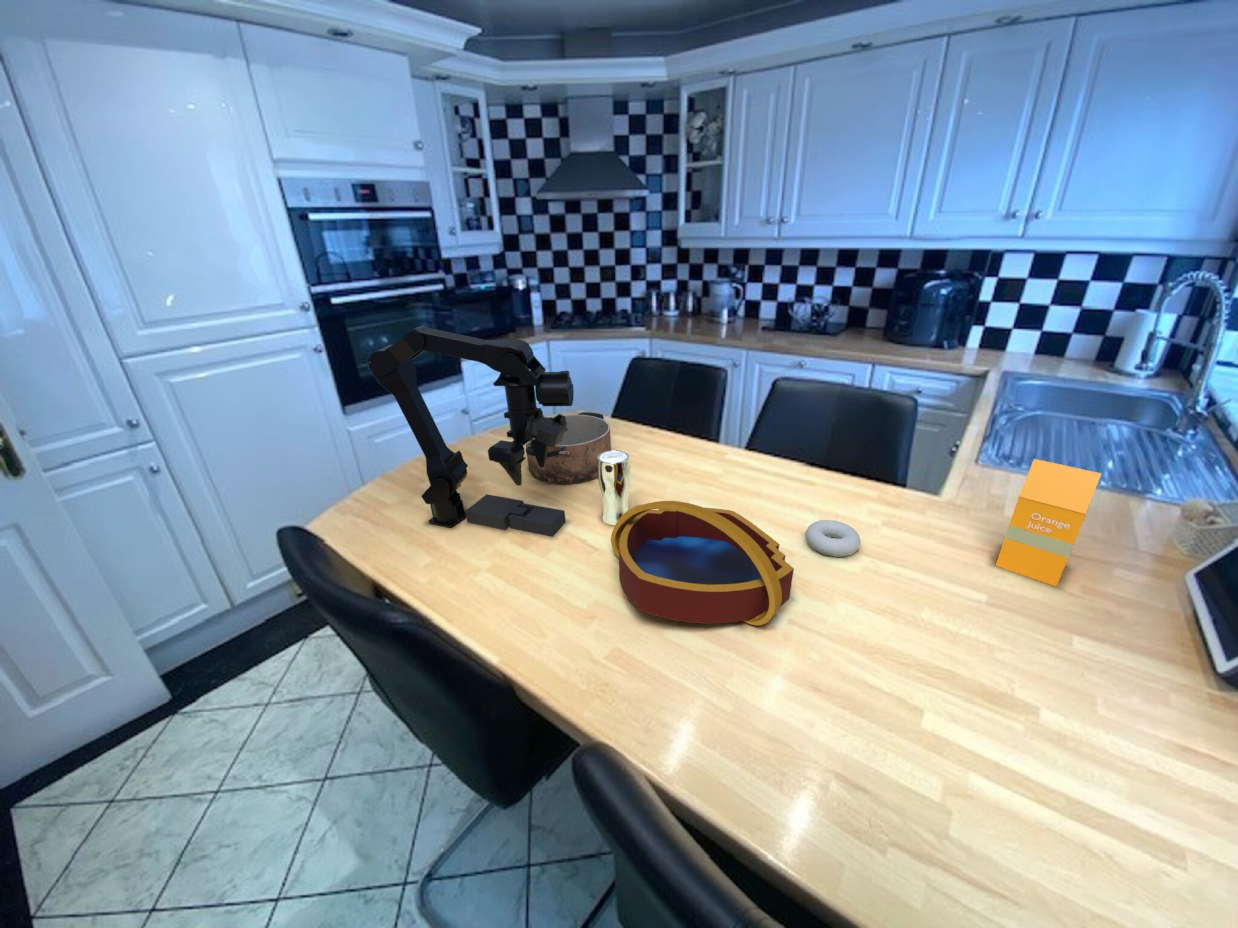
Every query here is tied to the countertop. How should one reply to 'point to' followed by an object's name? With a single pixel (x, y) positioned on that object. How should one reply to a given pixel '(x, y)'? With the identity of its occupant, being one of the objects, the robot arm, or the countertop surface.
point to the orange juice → (1047, 520)
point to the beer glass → (614, 484)
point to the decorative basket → (699, 564)
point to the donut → (841, 546)
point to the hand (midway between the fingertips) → (530, 475)
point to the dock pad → (495, 511)
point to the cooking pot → (574, 451)
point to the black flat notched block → (539, 520)
